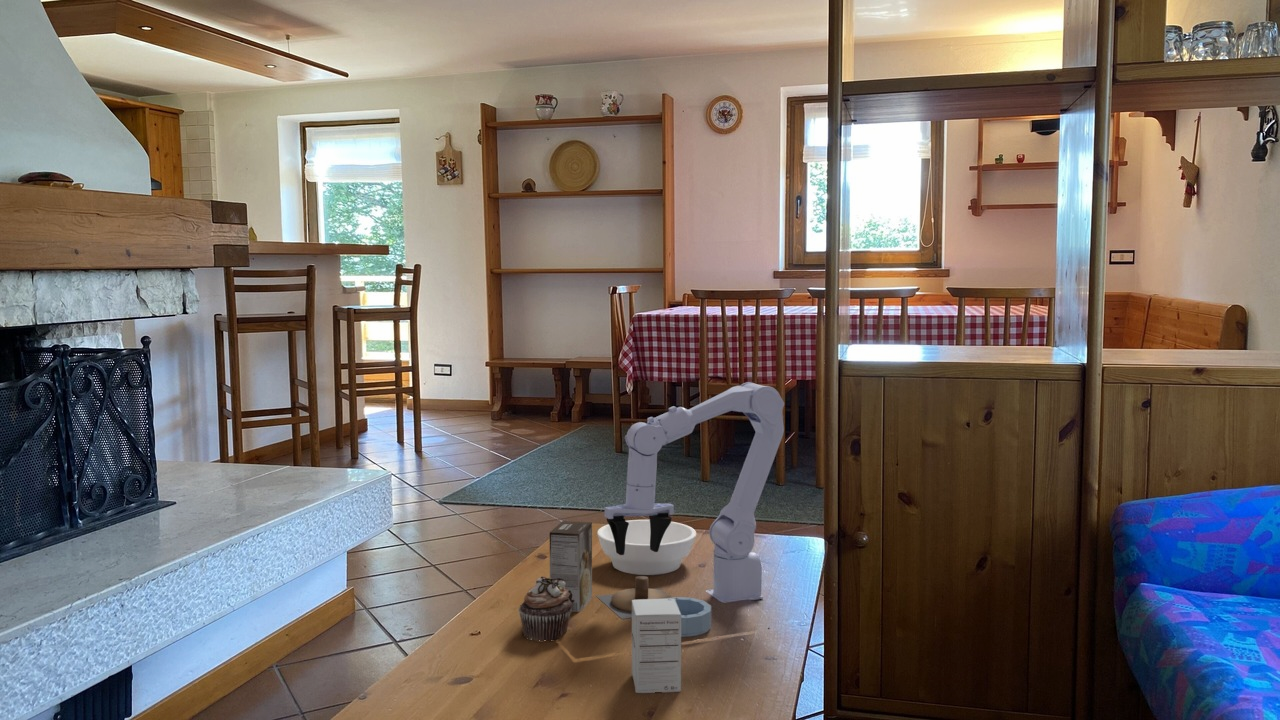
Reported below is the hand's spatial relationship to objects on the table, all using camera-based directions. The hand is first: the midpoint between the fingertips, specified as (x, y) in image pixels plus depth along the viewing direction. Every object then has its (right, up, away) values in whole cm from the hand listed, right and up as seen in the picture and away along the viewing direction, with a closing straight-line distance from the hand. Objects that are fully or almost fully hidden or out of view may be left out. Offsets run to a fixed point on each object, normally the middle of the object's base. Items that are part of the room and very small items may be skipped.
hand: (637, 552), depth 179 cm
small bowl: (+8, -12, -11) cm, 18 cm away
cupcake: (-17, -12, -14) cm, 25 cm away
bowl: (+2, -9, +27) cm, 28 cm away
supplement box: (+3, -14, -35) cm, 37 cm away
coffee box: (-13, -11, +1) cm, 17 cm away
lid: (+1, -10, +1) cm, 10 cm away
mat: (+1, -11, +1) cm, 11 cm away
